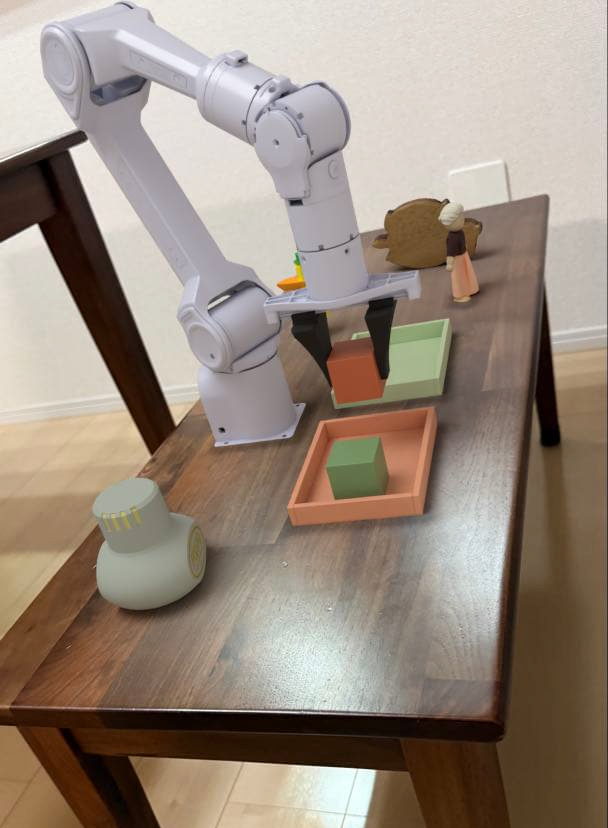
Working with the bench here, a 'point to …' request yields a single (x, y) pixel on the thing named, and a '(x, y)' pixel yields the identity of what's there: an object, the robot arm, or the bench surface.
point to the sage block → (357, 468)
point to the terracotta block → (355, 371)
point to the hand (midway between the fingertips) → (360, 378)
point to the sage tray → (413, 362)
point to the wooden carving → (421, 234)
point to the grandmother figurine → (458, 253)
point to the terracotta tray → (405, 457)
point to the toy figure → (295, 279)
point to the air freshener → (146, 547)
